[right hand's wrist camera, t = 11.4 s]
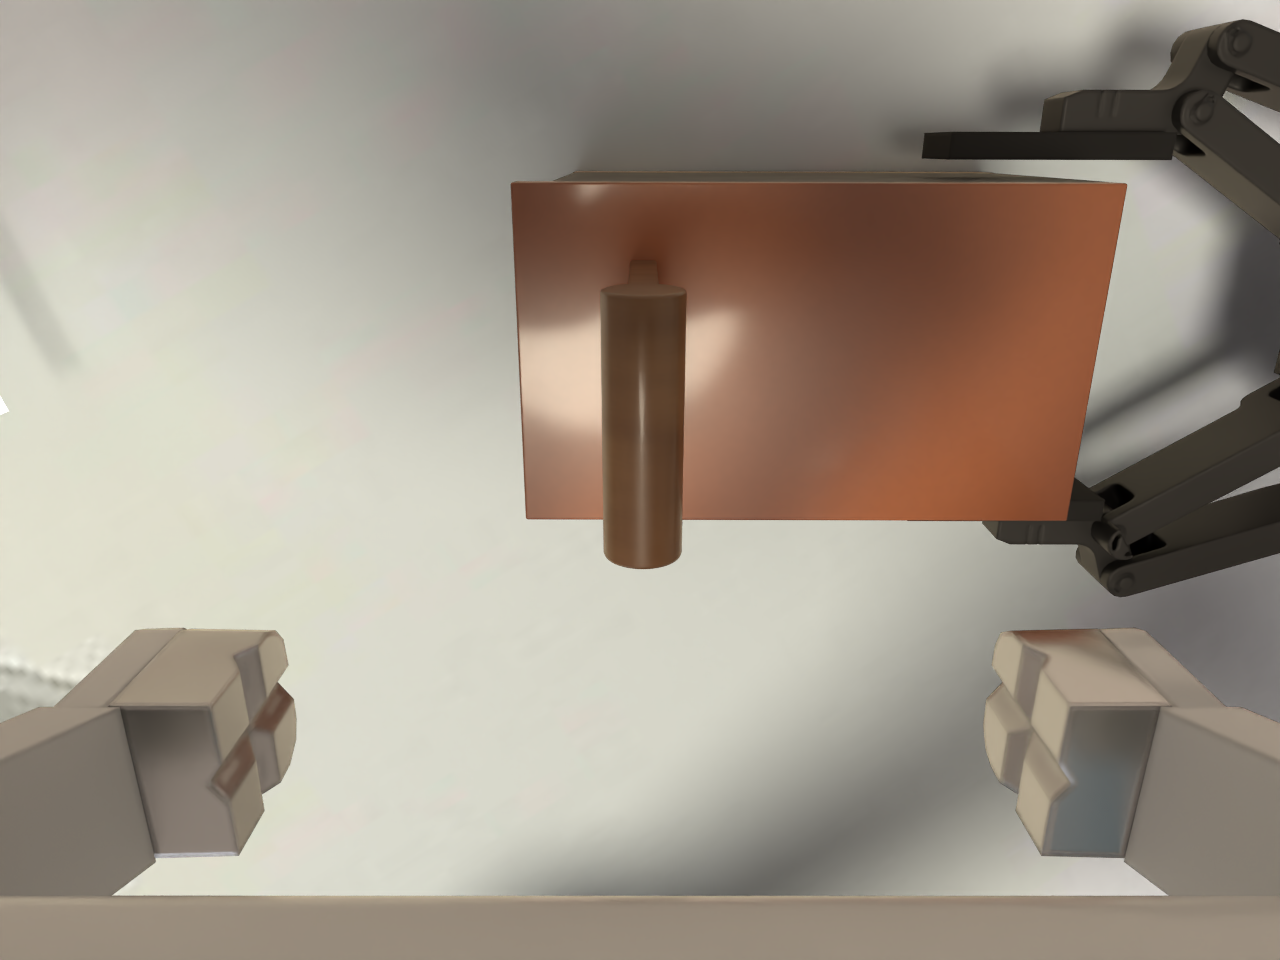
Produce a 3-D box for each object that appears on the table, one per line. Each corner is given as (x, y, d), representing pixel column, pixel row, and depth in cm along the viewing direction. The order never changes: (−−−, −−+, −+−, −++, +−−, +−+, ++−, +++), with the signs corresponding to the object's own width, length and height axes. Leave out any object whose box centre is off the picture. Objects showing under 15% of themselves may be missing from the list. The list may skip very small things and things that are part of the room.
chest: (581, 416, 37) (560, 508, 28) (575, 171, 34) (550, 180, 24) (949, 417, 37) (1054, 510, 28) (980, 171, 34) (1111, 181, 24)
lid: (529, 508, 28) (486, 643, 20) (514, 181, 24) (457, 196, 17) (1054, 510, 28) (1207, 646, 20) (1112, 182, 24) (1321, 198, 17)
